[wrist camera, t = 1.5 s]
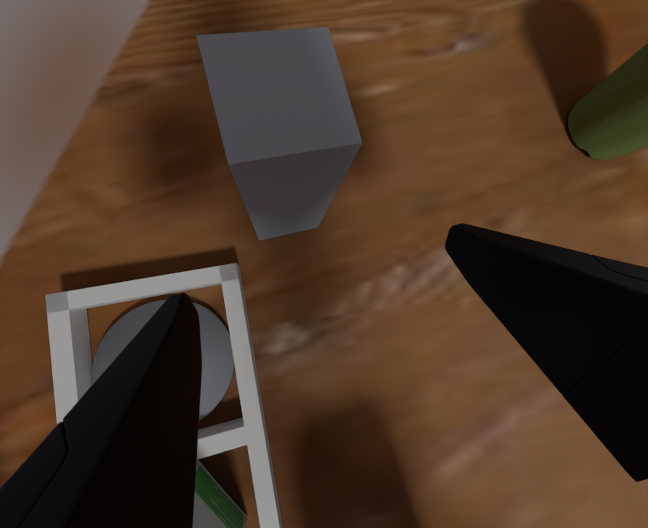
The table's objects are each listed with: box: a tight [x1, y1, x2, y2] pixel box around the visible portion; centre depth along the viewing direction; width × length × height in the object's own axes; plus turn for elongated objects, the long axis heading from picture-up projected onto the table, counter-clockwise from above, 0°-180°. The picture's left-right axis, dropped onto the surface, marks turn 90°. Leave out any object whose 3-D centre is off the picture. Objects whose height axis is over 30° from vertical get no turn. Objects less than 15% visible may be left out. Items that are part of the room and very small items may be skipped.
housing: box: [46, 263, 283, 528], centre depth 17 cm, size 22×12×2 cm, turn 11°
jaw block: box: [196, 27, 362, 241], centre depth 15 cm, size 5×5×12 cm
